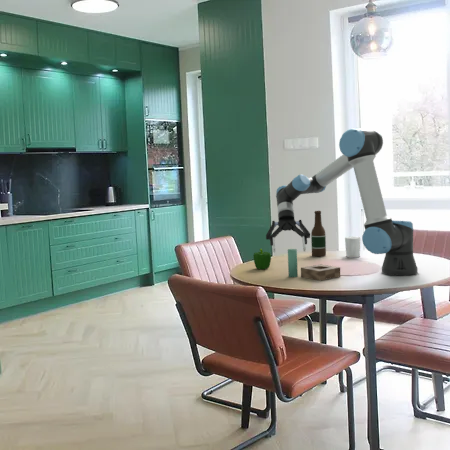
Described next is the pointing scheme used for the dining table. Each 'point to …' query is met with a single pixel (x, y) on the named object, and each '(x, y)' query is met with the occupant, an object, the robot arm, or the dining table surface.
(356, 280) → the dining table surface
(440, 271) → the dining table surface
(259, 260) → the bell pepper
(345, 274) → the dining table surface
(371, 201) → the robot arm
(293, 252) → the peg
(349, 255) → the white cup
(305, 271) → the socket block
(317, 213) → the beer bottle
